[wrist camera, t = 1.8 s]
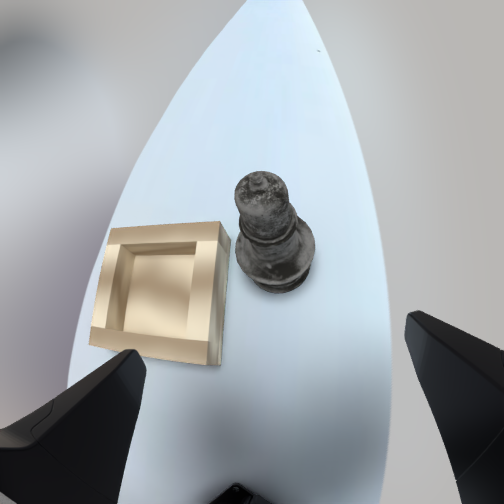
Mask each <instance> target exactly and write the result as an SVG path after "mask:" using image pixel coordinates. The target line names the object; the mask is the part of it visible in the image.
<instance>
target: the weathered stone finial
mask: <svg viewBox="0 0 504 504" xmlns="http://www.w3.org/2000/svg"><path fill="white" fill-rule="evenodd" d="M235 203H236V206H237V208H238V210H239V213H240V217H239V227H240V233H239V235H238V238H237V241H236V248H235V253H236V258H237V262H238V264H239V265H240V267H241V269H242V271H243V272H244V273H246V274H247V275H248V276H249V277H250V278H251V279H253V281H254V282H255V283H256V284H257V285H258V286H259V287H260V288H262V289H264V290H266V291H268V292H272V293H285V292H288V291H292V290H293V289H295V288H297V287H298V286H300V285H301V284H302V282H303V281H304V280H305V279H306V277H307V275H308V273H309V269H310V263H311V262H312V260H313V256H314V252H315V240H314V236H313V234H312V231H311V229H310V228H309V226H308V225H307V224H306V222H304V221H303V220H302V219H301V218H299V217H298V216H297V213H296V211H295V209H294V207H293V206H292V205H291V203H289V197H288V190H287V187H286V185H285V183H284V182H283V180H282V179H281V178H280V177H279V176H277V175H276V174H273V173H270V172H266V171H256V172H253V173H250V174H248V175H246V176H245V177H244V178H242V179H241V180H240V182H239V183H238V184H237V186H236V189H235Z"/></svg>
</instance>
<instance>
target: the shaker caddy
mask: <svg viewBox="0 0 504 504" xmlns="http://www.w3.org/2000/svg"><path fill="white" fill-rule="evenodd" d="M230 243H231V239H230V238H229V236H228V234H227V233H226V231H225V229H224V227H223V226H222V224H221V222H220V221H214V222H196V223H179V224H164V225H149V226H136V227H123V228H111V231H110V235H109V238H108V242H107V246H106V250H105V255H104V259H103V263H102V268H101V272H100V277H99V282H98V287H97V293H96V298H95V304H94V310H93V316H92V323H91V330H90V338H89V345H92V346H96V347H100V348H105V349H109V350H114V351H119V352H122V351H123V350H125V349H136V350H137V351H138V353H139V354H140V356H145V357H151V358H157V359H163V360H170V361H177V362H185V363H193V364H202V365H221V353H222V339H223V325H224V312H225V300H226V288H227V276H228V265H229V253H230Z"/></svg>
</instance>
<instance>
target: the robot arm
mask: <svg viewBox="0 0 504 504" xmlns="http://www.w3.org/2000/svg"><path fill="white" fill-rule="evenodd" d="M405 341H406V344H407V347H408V350H409V352H410V355H411V359H412V362H413V365H414V368H415V371H416V374H417V377H418V380H419V382H420V384H421V387H422V389H423V391H424V394H425V396H426V398H427V401H428V403H429V406H430V408H431V411H432V413H433V416H434V418H435V421H436V423H437V426H438V429H439V431H440V434H441V437H442V440H443V442H444V445H445V448H446V451H447V454H448V457H449V460H450V463H451V466H452V470H453V473H454V476H455V479H456V480H457V481H456V483H457V487H458V491H459V494H460V498H461V502H462V504H504V350H500V349H499V348H497V347H495V346H493V345H491V344H489V343H487V342H485V341H483V340H481V339H479V338H477V337H474V336H473V335H470V334H468V333H466V332H464V331H462V330H460V329H458V328H456V327H454V326H452V325H450V324H448V323H445V322H443V321H441V320H439V319H437V318H435V317H433V316H430V315H428V314H426V313H424V312H422V311H419V310H418V311H414V312H410V313H408V315H407V318H406V326H405ZM145 377H146V366H145V364H144V362H143V360H142V358H141V356H140V354H139V353H138V351H137V350H136V349H125V350H123V351H122V352H120V353H119V354H117V355H116V356H115V357H113V358H112V359H110V360H109V361H107V362H106V363H104V364H103V365H102V366H100V367H99V368H97V369H96V370H94V371H93V372H91V373H90V374H89V375H87V376H86V377H84V378H83V379H81V380H80V381H78V382H77V383H75V384H74V385H73V386H71V387H70V388H68V389H67V390H65V391H64V392H62V393H61V394H60V395H58V396H57V397H56V398H55V399H52V400H51V401H49V402H48V403H46V404H45V405H43V406H42V407H40V408H39V409H37V410H35V411H34V412H32V413H31V414H29V415H27V416H25V417H23V418H22V419H20V420H18V421H16V422H15V423H13V424H11V425H10V426H7V427H5V428H3V429H0V504H117V502H118V497H119V492H120V488H121V483H122V478H123V474H124V469H125V465H126V461H127V457H128V453H129V449H130V444H131V441H132V437H133V433H134V429H135V425H136V421H137V418H138V414H139V410H140V406H141V400H142V394H143V389H144V383H145ZM234 487H237V488H238V489H239V490H236V489H234ZM208 504H272V503H270V502H269V501H267V500H266V499H264V498H263V497H261V496H260V495H256V494H254V493H252V492H251V491H249V490H248V489H247V488H245V487H244V486H242V485H241V484H239V483H233V484H232V485H231V486H229V487H228V488H227V489H226V490H225V491H223V492H222V493H221V494H220V495H218V496H217V497H216V498H215V499H213V500H212V501H211V502H210V503H208Z"/></svg>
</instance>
